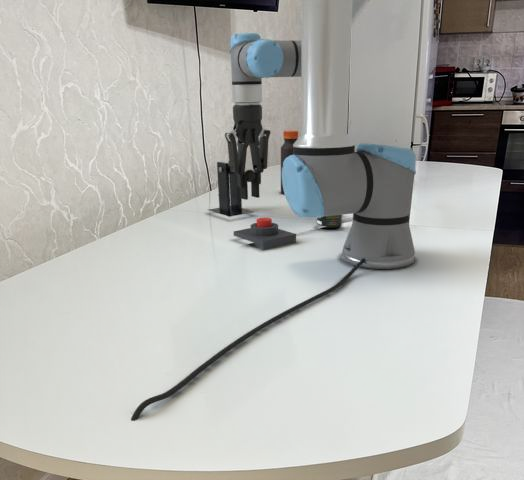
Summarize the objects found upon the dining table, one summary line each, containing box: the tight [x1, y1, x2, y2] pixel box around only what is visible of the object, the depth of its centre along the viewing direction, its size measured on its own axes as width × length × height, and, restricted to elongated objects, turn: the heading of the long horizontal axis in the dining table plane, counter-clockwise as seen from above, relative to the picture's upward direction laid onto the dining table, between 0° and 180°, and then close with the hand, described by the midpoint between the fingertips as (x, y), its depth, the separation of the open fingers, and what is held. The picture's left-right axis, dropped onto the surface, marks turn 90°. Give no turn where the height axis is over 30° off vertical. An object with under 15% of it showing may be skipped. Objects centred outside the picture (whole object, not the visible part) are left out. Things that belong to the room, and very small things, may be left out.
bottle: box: [280, 130, 299, 195], centre depth 179 cm, size 7×7×20 cm
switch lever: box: [227, 162, 256, 183], centre depth 145 cm, size 13×3×3 cm, turn 37°
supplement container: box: [316, 215, 343, 231], centre depth 136 cm, size 7×7×10 cm
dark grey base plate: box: [233, 222, 297, 251], centre depth 127 cm, size 12×10×4 cm
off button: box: [256, 217, 273, 227], centre depth 126 cm, size 4×4×2 cm
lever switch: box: [208, 161, 255, 218], centre depth 151 cm, size 12×9×15 cm
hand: (249, 197), depth 145 cm, fingers closed on switch lever, 3 cm apart
